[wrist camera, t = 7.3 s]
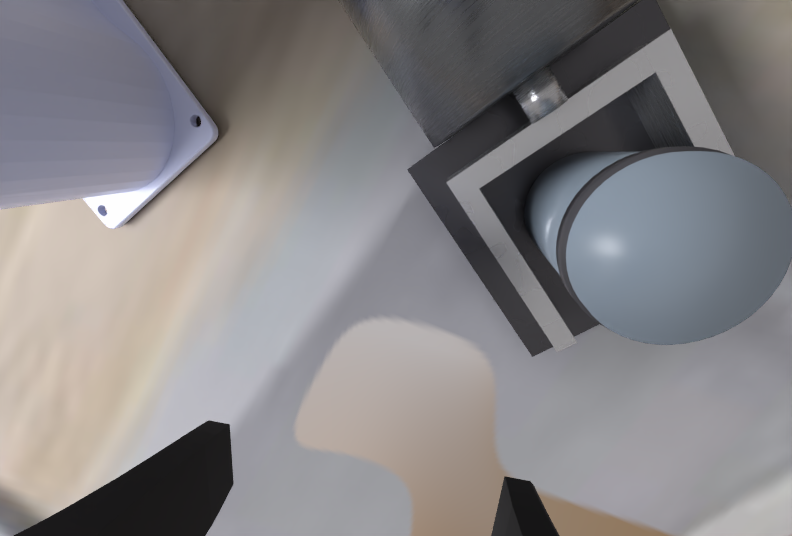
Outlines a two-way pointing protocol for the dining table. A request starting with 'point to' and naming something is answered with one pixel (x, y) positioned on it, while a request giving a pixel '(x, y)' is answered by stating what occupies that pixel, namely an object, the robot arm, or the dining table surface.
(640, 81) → the motor
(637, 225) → the banded grey cylinder
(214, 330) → the dining table surface
